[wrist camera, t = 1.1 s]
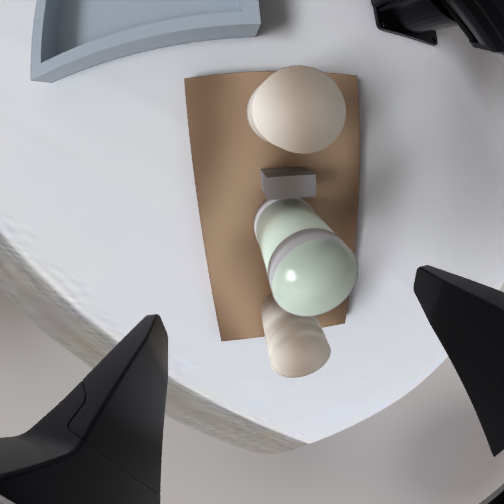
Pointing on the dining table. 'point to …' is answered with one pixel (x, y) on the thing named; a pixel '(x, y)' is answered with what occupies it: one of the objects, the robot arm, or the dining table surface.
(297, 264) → the cylinder
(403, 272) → the dining table surface
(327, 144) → the fuse rack
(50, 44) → the tray
